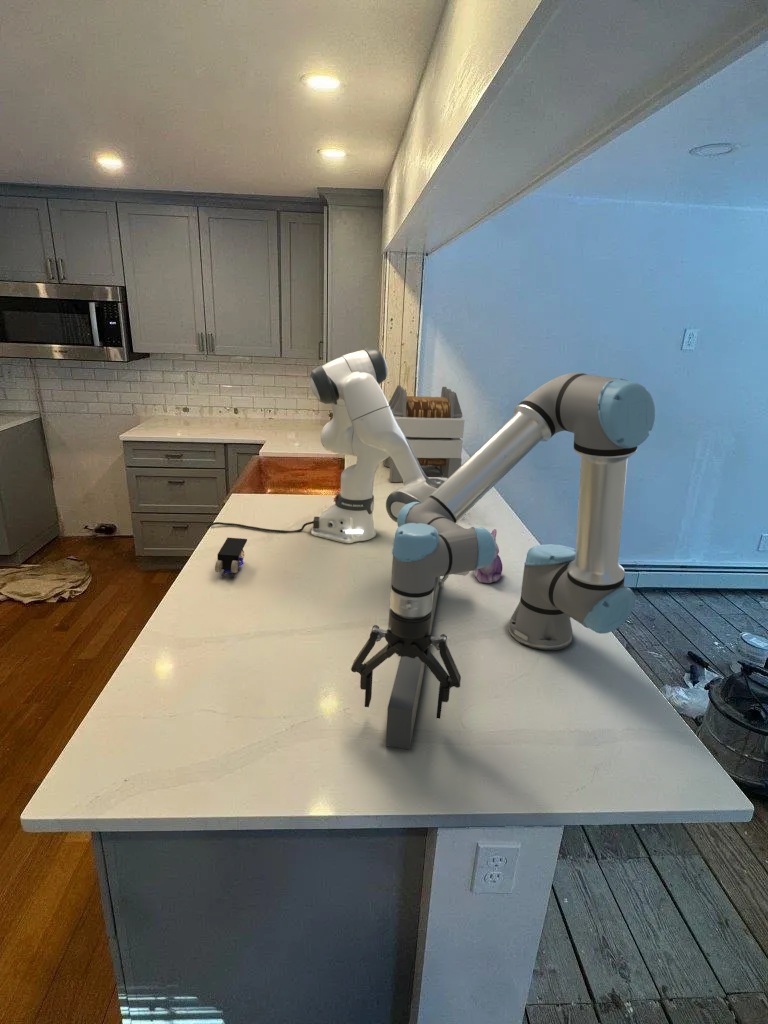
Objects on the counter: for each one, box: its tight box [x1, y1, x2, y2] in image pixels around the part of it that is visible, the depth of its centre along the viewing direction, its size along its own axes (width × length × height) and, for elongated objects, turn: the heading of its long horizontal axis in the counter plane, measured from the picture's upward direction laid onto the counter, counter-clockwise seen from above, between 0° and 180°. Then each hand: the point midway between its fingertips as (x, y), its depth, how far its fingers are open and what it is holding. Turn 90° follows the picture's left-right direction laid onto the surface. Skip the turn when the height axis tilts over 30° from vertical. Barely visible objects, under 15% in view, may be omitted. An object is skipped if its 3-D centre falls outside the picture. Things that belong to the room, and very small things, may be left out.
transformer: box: [382, 384, 465, 483], centre depth 268 cm, size 34×33×41 cm
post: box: [385, 576, 441, 750], centre depth 132 cm, size 67×4×8 cm, turn 170°
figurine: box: [474, 528, 503, 584], centre depth 167 cm, size 9×10×15 cm
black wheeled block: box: [214, 537, 248, 578], centre depth 166 cm, size 7×8×15 cm
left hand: (430, 584), depth 157 cm, fingers closed on post, 4 cm apart
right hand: (403, 708), depth 108 cm, fingers open, 13 cm apart
